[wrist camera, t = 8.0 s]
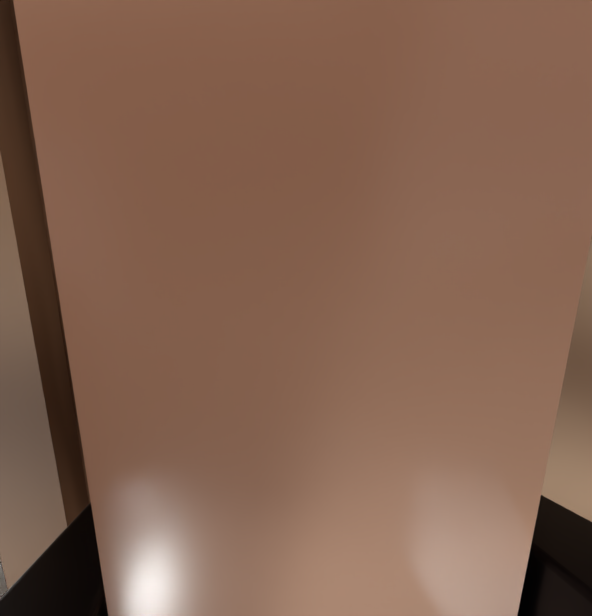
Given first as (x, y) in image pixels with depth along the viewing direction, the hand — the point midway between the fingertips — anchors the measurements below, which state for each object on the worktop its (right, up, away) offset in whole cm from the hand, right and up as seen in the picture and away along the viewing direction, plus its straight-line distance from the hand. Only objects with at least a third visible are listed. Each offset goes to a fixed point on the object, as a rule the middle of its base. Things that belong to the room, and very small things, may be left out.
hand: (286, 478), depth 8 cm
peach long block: (0, 0, +1) cm, 1 cm away
